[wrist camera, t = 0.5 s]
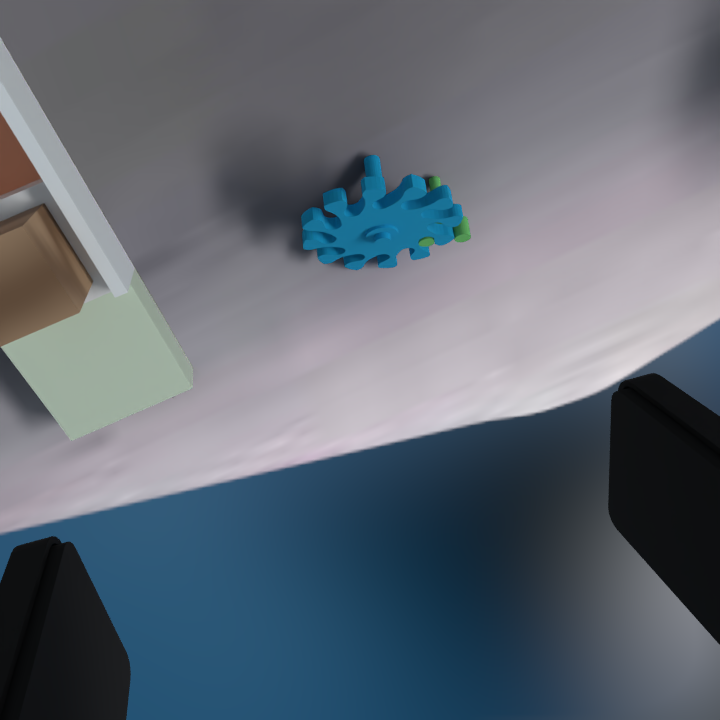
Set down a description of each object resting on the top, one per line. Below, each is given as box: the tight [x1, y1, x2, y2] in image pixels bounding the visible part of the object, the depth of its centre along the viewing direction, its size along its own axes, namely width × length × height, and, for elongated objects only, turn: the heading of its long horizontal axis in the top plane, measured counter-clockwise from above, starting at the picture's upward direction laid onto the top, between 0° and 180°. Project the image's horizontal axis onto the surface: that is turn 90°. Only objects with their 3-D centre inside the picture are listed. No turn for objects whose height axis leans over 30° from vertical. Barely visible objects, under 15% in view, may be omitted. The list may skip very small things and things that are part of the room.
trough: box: [0, 38, 193, 441], centre depth 36 cm, size 26×9×4 cm, turn 20°
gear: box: [301, 155, 471, 270], centre depth 40 cm, size 11×6×10 cm
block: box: [0, 203, 93, 347], centre depth 34 cm, size 5×5×5 cm
